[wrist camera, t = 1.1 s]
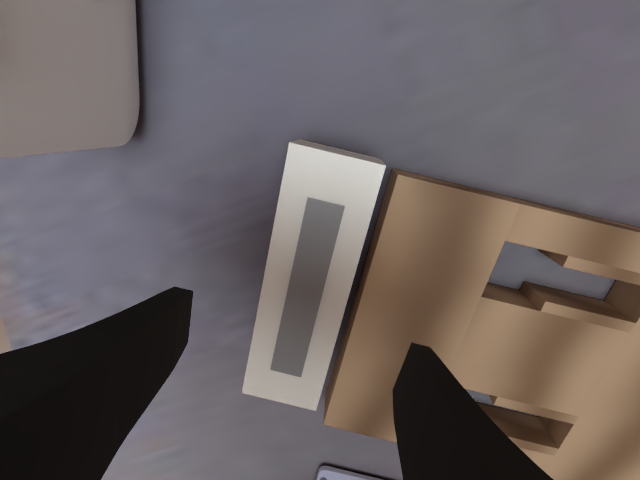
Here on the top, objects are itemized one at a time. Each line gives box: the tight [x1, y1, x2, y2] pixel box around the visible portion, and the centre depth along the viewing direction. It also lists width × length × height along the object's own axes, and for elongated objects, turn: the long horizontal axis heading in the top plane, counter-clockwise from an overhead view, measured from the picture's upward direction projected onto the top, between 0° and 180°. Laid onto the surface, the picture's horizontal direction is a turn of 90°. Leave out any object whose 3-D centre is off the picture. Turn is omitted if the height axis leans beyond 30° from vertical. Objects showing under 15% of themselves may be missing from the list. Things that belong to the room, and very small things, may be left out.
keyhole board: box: [323, 168, 640, 480], centre depth 20 cm, size 20×16×2 cm
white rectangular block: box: [242, 139, 386, 411], centre depth 18 cm, size 13×4×5 cm, turn 167°
